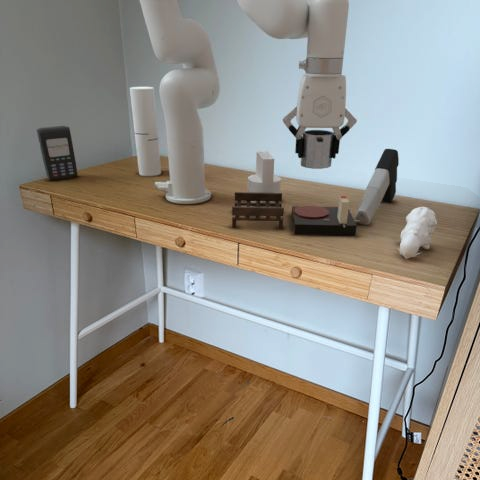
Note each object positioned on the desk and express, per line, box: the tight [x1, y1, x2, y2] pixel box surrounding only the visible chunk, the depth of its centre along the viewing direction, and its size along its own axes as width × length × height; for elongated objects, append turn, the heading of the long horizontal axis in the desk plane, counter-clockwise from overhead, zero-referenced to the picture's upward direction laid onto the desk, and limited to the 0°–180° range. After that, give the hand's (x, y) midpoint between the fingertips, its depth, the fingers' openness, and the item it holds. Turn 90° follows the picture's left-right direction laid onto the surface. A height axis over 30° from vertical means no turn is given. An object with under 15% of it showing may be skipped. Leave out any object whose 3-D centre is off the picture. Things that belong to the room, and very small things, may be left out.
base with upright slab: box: [247, 150, 282, 203], centre depth 124 cm, size 9×9×12 cm
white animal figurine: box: [397, 206, 438, 260], centre depth 96 cm, size 6×8×12 cm
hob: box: [290, 205, 360, 237], centre depth 110 cm, size 15×14×3 cm
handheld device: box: [355, 148, 400, 226], centre depth 118 cm, size 4×22×15 cm
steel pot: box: [300, 129, 335, 170], centre depth 104 cm, size 7×9×7 cm
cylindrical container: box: [129, 86, 162, 177], centre depth 144 cm, size 7×7×25 cm
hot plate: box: [294, 205, 329, 218], centre depth 112 cm, size 8×8×1 cm
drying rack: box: [231, 191, 285, 230], centre depth 113 cm, size 12×12×5 cm
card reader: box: [36, 125, 78, 181], centre depth 141 cm, size 9×4×15 cm, turn 123°
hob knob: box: [337, 195, 350, 224], centre depth 106 cm, size 4×2×5 cm, turn 177°
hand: (316, 156), depth 105 cm, fingers closed on steel pot, 6 cm apart
